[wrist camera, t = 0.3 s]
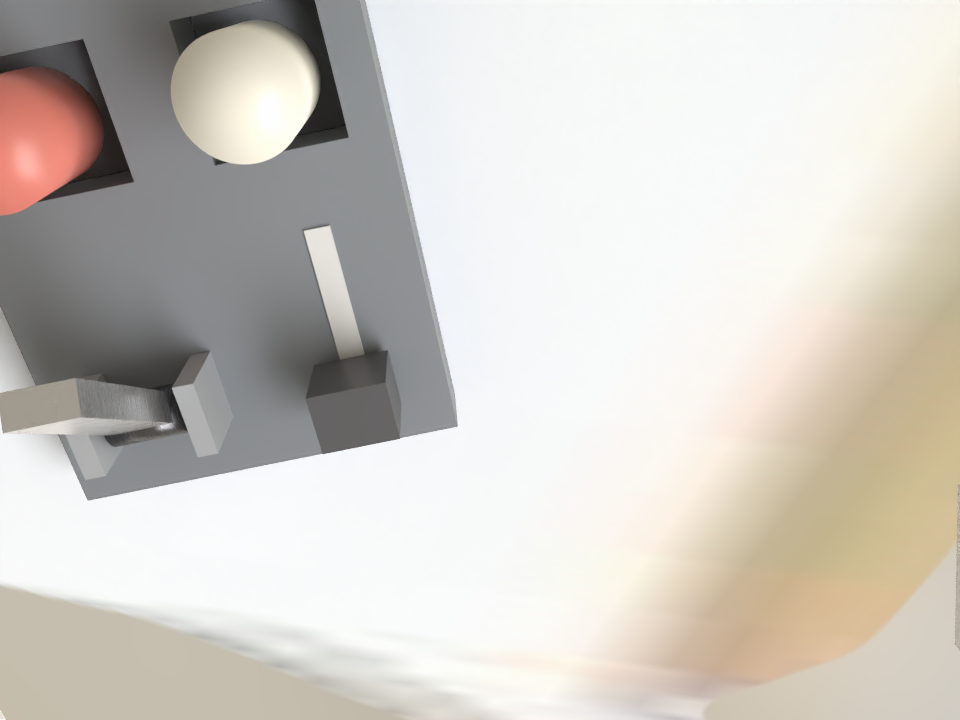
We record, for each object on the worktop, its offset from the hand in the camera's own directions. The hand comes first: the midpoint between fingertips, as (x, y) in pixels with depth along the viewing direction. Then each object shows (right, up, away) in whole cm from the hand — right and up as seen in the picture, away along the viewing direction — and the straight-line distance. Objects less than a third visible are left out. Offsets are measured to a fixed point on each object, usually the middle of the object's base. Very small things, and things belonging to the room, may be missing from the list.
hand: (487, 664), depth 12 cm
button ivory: (-8, +14, +19) cm, 25 cm away
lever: (-13, +2, +22) cm, 26 cm away
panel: (-11, +10, +24) cm, 28 cm away
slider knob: (-5, +3, +23) cm, 24 cm away
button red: (-16, +13, +19) cm, 28 cm away
